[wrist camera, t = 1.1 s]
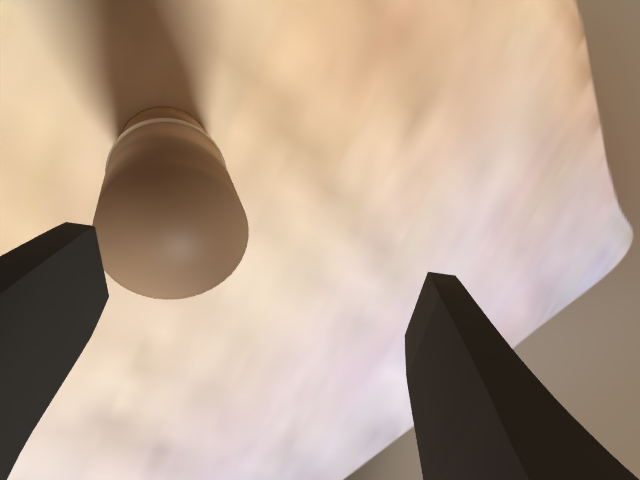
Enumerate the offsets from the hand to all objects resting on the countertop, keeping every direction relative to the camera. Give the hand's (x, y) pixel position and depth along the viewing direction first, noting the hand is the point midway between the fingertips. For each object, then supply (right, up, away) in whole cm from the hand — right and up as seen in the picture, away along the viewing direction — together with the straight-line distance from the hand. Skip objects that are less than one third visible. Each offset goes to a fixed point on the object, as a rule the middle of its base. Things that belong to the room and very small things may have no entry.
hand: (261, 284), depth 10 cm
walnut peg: (-5, +5, +9) cm, 11 cm away
